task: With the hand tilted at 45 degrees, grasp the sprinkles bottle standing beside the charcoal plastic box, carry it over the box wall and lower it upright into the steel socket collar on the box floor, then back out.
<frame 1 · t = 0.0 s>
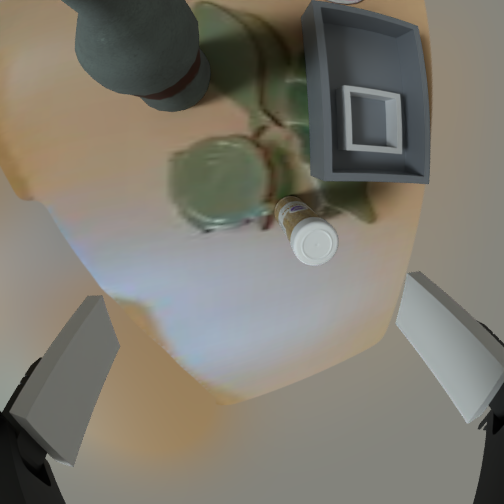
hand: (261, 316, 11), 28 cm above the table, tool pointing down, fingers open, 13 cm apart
sprinkles bottle: (289, 211, 38), on the table
walled box: (360, 95, 32), on the table
vodka: (178, 82, 31), on the table
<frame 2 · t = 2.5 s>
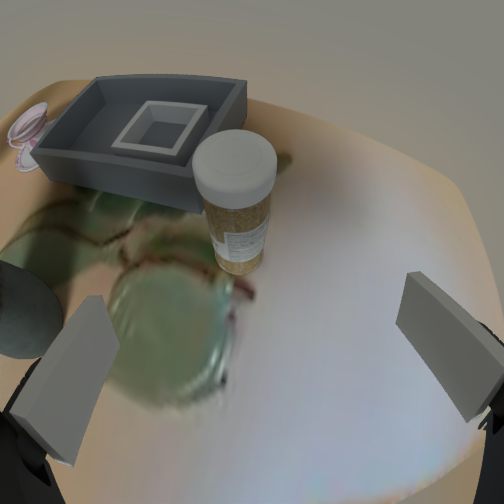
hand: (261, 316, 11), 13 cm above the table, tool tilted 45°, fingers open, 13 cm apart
teacup: (43, 145, 34), on the table
sprinkles bottle: (239, 254, 26), on the table
walled box: (140, 143, 32), on the table
vodka: (38, 321, 23), on the table
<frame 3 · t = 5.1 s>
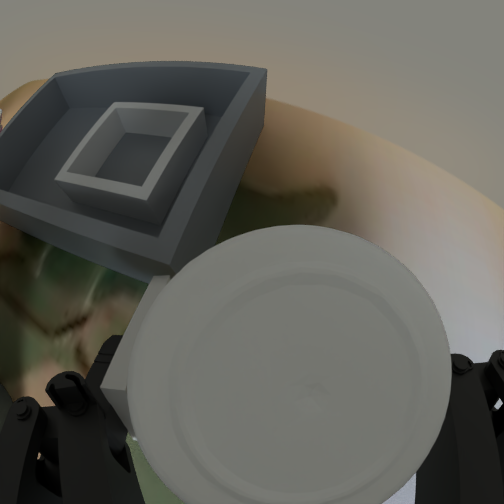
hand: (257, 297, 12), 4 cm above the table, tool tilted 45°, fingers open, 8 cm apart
sprinkles bottle: (259, 371, 15), on the table
walled box: (105, 167, 21), on the table
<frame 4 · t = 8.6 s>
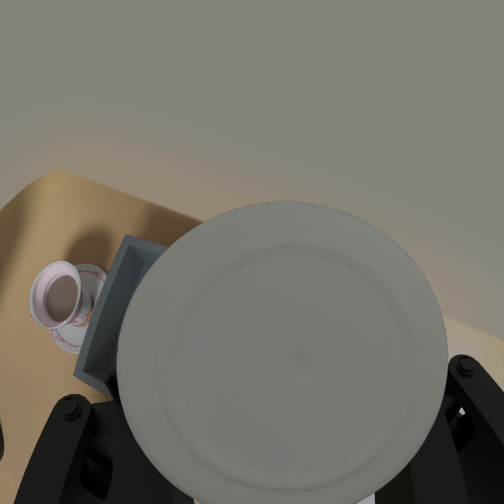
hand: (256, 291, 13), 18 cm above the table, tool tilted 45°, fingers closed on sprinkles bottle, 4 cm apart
teacup: (81, 308, 30), on the table
sprinkles bottle: (262, 366, 15), point 14 cm above the table, touching gripper
walled box: (214, 350, 29), on the table
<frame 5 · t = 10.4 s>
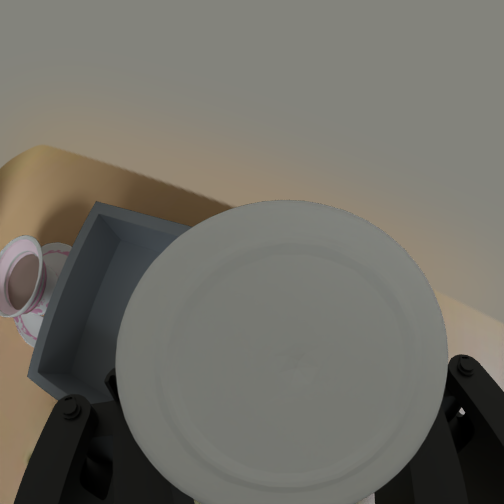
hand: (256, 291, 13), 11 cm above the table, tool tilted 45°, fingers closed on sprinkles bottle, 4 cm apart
teacup: (49, 296, 23), on the table
sprinkles bottle: (262, 365, 15), point 7 cm above the table, touching gripper
walled box: (203, 352, 22), on the table
when the fingers open (6 cm above the table, at t = 11.7 s): sprinkles bottle drops 1 cm, resting on walled box.
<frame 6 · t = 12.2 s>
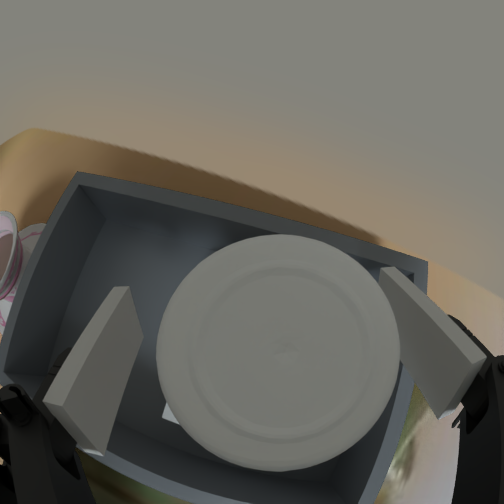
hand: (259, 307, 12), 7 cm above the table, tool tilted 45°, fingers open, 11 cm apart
teacup: (29, 283, 20), on the table, touching walled box
sprinkles bottle: (259, 366, 17), point 1 cm above the table, touching walled box
walled box: (201, 352, 18), on the table
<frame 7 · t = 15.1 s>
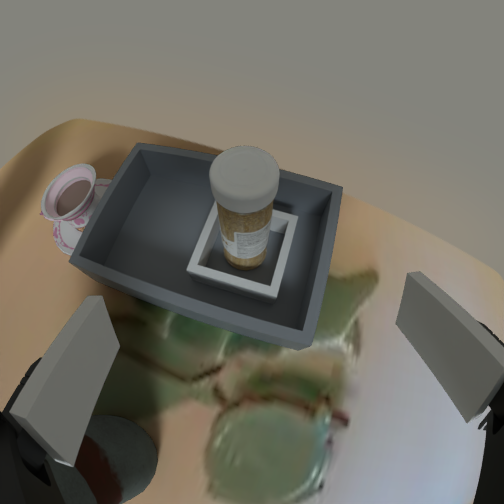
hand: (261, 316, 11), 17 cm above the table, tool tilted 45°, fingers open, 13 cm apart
teacup: (89, 217, 33), on the table
sprinkles bottle: (245, 252, 30), point 1 cm above the table, touching walled box
walled box: (210, 247, 31), on the table
vodka: (123, 448, 22), on the table
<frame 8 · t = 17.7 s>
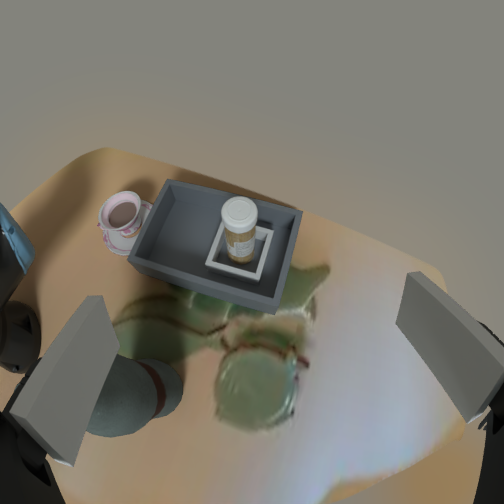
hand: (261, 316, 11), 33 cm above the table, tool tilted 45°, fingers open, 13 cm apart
teacup: (131, 227, 50), on the table
sprinkles bottle: (241, 253, 47), point 1 cm above the table, touching walled box
walled box: (218, 250, 48), on the table
vodka: (158, 386, 38), on the table
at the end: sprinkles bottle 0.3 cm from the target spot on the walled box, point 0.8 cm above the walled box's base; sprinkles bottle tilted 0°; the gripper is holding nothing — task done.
